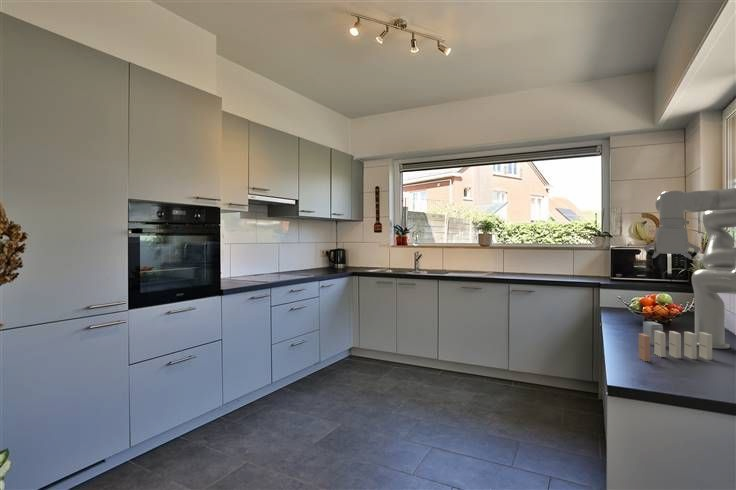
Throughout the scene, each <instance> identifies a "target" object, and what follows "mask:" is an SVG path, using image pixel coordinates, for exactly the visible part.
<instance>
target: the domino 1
mask: <svg viewBox="0 0 736 490" xmlns="http://www.w3.org/2000/svg"><path fill="white" fill-rule="evenodd" d="M638 359H640V360H641V359H642V361H643V362H645V361H646V363H648V362H649V363H650V362H651V344H650V336H648V335H645V334H643V333H638ZM647 361H648V362H647Z"/></svg>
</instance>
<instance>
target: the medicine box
mask: <svg viewBox="0 0 736 490" xmlns="http://www.w3.org/2000/svg"><path fill="white" fill-rule="evenodd" d="M654 331H661V332H664V326H663V324H661V323H658V322H655V321H642V334H645V335H648V336H650V346H654Z"/></svg>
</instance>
